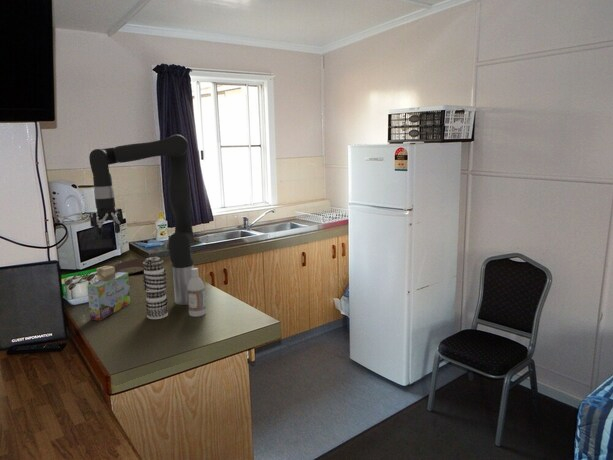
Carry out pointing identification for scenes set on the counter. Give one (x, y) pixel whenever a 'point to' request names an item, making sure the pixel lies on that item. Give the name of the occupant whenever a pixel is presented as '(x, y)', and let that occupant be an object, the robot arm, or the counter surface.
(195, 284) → the bath foam
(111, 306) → the snack box
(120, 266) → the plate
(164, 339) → the counter surface
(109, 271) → the maple block
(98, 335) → the counter surface
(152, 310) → the decorative candle
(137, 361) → the counter surface
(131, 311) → the counter surface
